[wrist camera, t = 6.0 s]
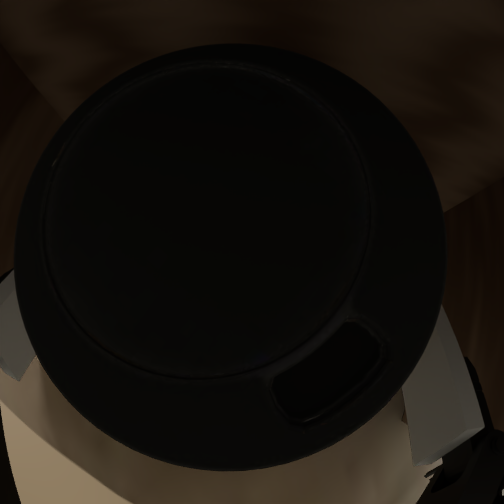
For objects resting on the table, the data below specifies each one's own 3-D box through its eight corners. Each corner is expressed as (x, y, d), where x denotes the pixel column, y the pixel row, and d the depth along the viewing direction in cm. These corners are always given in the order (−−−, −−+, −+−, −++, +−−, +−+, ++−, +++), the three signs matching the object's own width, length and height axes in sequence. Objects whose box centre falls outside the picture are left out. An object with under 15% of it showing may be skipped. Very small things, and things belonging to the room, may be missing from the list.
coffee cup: (276, 388, 18) (339, 553, 3) (144, 321, 19) (-51, 324, 4) (337, 255, 20) (498, 138, 5) (209, 195, 20) (149, 1, 6)
